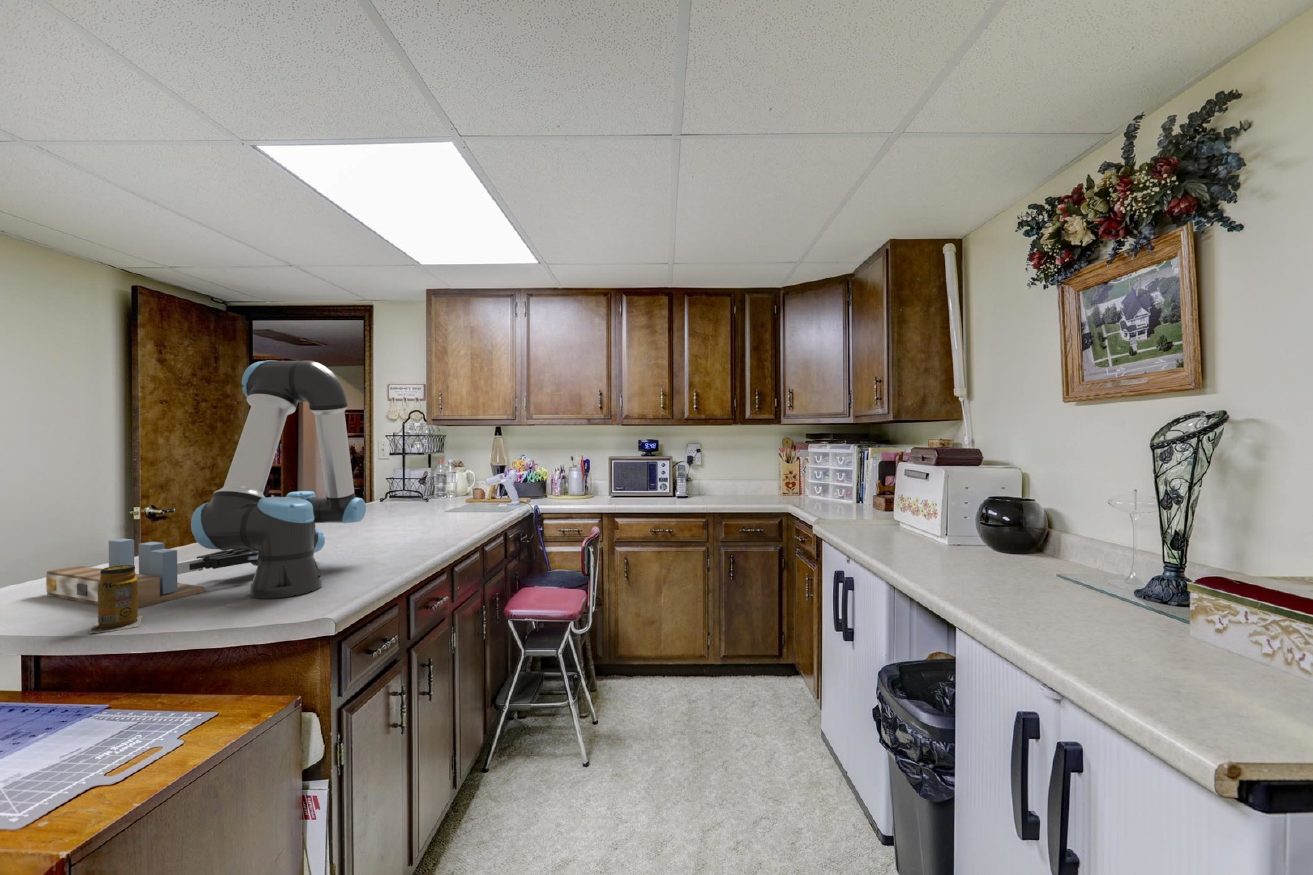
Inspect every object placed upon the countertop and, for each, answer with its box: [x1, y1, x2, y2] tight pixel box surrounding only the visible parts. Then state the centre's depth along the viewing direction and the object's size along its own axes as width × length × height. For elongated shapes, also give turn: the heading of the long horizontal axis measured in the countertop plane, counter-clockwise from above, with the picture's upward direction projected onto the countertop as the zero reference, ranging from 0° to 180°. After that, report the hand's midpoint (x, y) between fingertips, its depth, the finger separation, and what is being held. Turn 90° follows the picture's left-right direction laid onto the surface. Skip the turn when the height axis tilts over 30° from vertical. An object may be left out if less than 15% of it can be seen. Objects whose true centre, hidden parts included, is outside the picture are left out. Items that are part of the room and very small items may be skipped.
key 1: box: [108, 538, 135, 567], centre depth 147 cm, size 5×3×10 cm, turn 70°
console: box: [45, 565, 206, 609], centre depth 137 cm, size 33×16×6 cm, turn 70°
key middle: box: [138, 541, 166, 576], centre depth 142 cm, size 5×3×10 cm, turn 70°
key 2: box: [149, 548, 178, 594], centre depth 134 cm, size 5×3×10 cm, turn 70°
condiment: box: [88, 565, 143, 635], centre depth 115 cm, size 7×8×12 cm
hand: (171, 569), depth 136 cm, fingers closed
